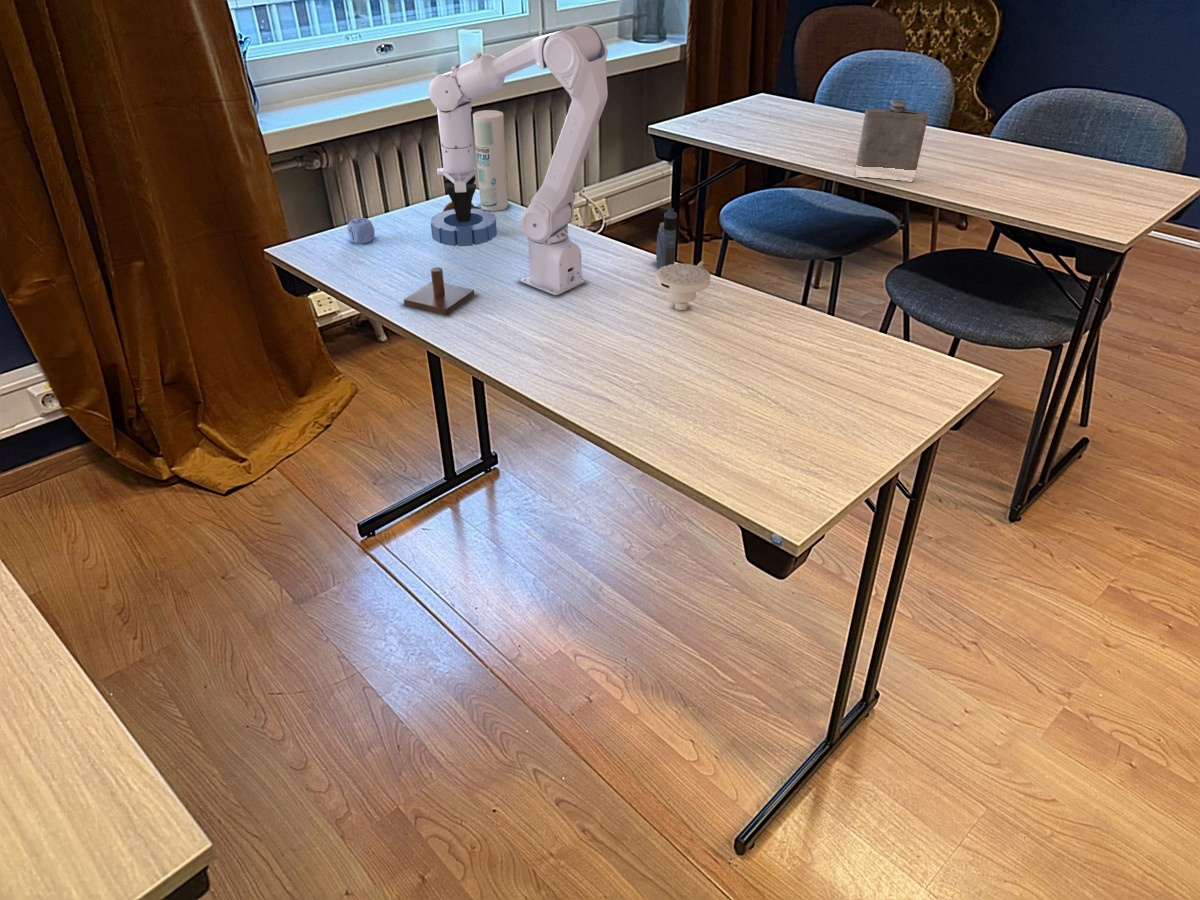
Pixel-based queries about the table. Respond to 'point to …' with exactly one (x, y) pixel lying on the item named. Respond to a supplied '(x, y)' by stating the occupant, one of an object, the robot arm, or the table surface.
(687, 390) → the table surface
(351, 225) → the decorative dice
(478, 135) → the spray can
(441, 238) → the ring
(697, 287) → the showerhead
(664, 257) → the vaping device
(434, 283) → the brown peg stand
